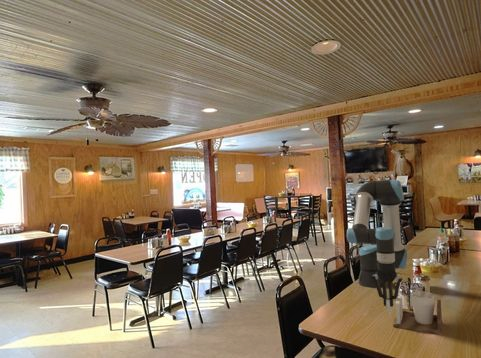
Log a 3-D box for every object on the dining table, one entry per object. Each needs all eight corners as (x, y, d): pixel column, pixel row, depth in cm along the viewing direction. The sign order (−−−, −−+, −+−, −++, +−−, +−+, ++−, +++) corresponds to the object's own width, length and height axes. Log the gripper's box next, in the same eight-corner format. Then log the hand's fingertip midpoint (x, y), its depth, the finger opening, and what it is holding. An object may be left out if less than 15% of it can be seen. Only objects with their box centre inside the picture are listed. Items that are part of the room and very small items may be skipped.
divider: (396, 323, 143) (395, 302, 143) (399, 314, 151) (398, 295, 152) (400, 324, 142) (399, 303, 142) (403, 315, 151) (402, 295, 151)
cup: (415, 315, 150) (413, 289, 150) (437, 320, 144) (436, 293, 144) (410, 322, 143) (408, 295, 143) (433, 328, 137) (432, 299, 137)
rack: (393, 326, 143) (391, 303, 143) (397, 315, 154) (396, 294, 154) (441, 335, 133) (440, 310, 133) (442, 323, 144) (440, 299, 144)
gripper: (369, 262, 150) (372, 313, 149) (400, 264, 143) (403, 318, 142) (372, 258, 156) (375, 308, 156) (402, 260, 149) (405, 312, 148)
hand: (389, 313), depth 149 cm, fingers closed
